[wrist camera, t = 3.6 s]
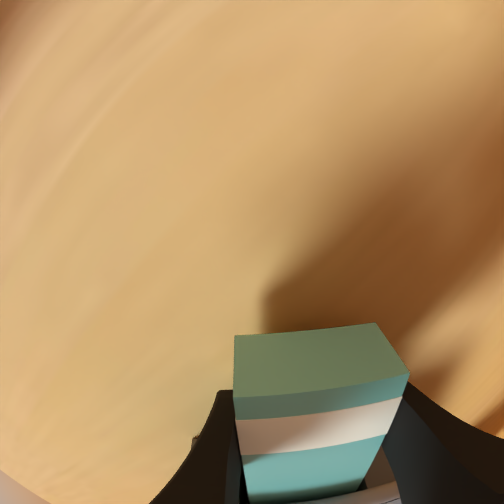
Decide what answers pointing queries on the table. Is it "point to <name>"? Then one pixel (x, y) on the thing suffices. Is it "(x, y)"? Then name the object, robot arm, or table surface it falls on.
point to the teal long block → (313, 409)
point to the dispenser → (366, 496)
